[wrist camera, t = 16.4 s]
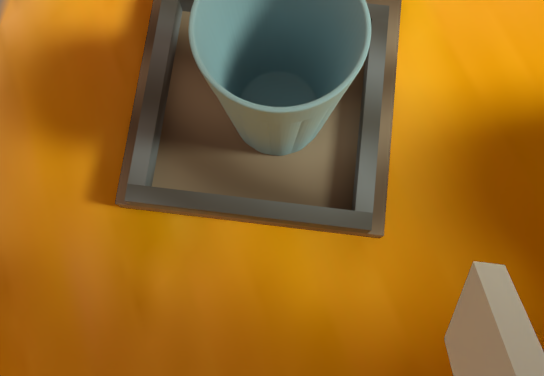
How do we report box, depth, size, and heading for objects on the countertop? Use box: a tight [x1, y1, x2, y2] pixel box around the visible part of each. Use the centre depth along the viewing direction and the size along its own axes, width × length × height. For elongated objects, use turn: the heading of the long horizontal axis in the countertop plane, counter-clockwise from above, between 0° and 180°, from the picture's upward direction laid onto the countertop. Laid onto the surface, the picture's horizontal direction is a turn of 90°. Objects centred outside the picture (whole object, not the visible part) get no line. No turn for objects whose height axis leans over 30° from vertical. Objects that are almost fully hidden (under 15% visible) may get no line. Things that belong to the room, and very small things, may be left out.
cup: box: [188, 0, 371, 156], centre depth 26 cm, size 8×8×10 cm
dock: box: [115, 0, 401, 238], centre depth 32 cm, size 20×16×3 cm
